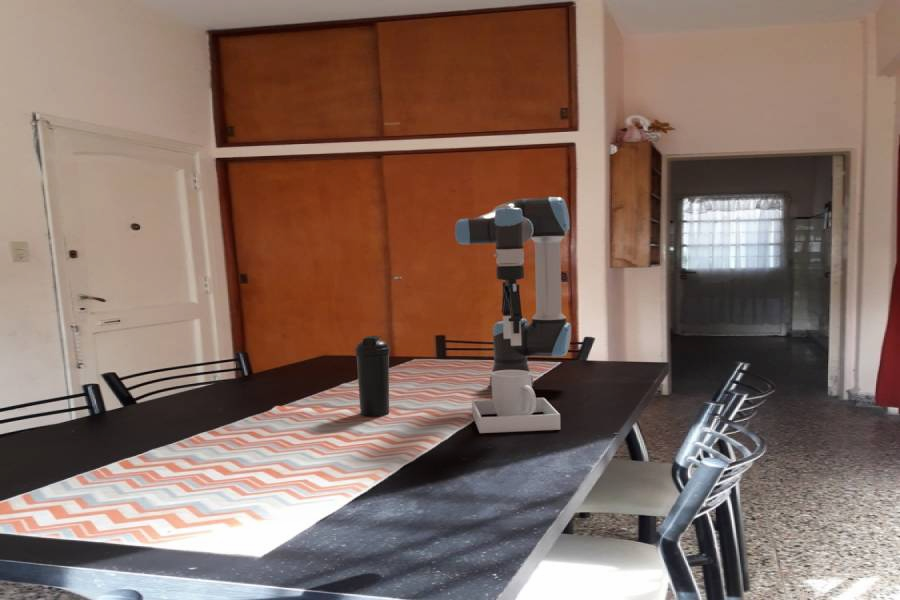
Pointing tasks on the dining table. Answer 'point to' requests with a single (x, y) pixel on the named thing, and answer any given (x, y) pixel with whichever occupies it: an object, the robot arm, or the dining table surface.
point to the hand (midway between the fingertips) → (512, 342)
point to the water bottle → (373, 376)
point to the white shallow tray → (515, 418)
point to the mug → (513, 393)
